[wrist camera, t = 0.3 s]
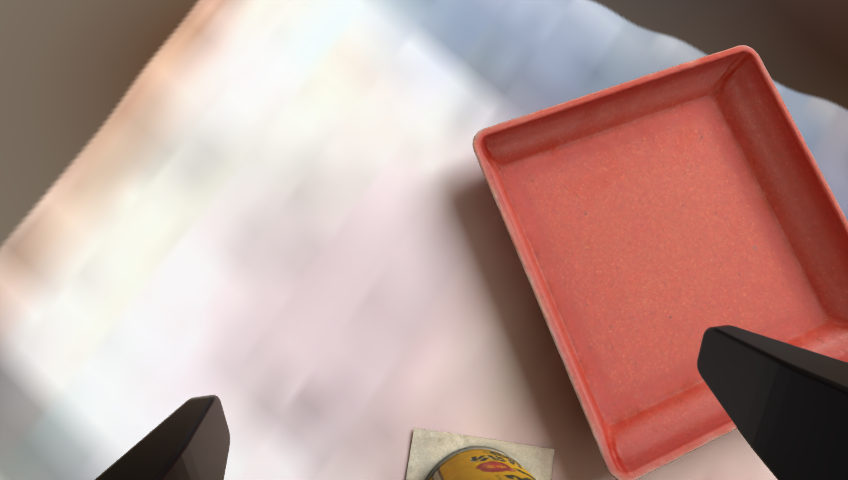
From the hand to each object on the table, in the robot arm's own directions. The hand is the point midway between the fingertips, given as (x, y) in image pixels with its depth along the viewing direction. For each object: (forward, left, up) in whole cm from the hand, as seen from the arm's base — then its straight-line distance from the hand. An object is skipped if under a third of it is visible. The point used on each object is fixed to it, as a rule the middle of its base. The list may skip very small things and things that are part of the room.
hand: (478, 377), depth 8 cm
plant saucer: (-3, -15, -15) cm, 22 cm away
